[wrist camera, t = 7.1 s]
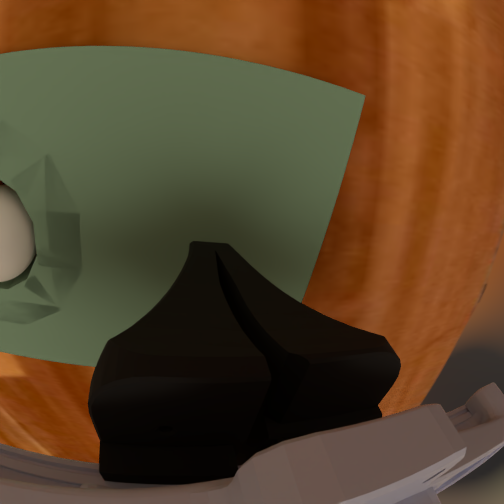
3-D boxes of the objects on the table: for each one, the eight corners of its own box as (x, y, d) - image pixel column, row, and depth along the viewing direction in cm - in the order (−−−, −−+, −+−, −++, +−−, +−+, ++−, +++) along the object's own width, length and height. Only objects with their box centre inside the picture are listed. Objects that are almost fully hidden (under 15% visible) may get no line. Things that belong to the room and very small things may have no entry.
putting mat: (335, 91, 12) (365, 95, 10) (263, 339, 18) (274, 371, 16) (-71, 76, 6) (-102, 82, 4) (-42, 310, 13) (-57, 336, 11)
